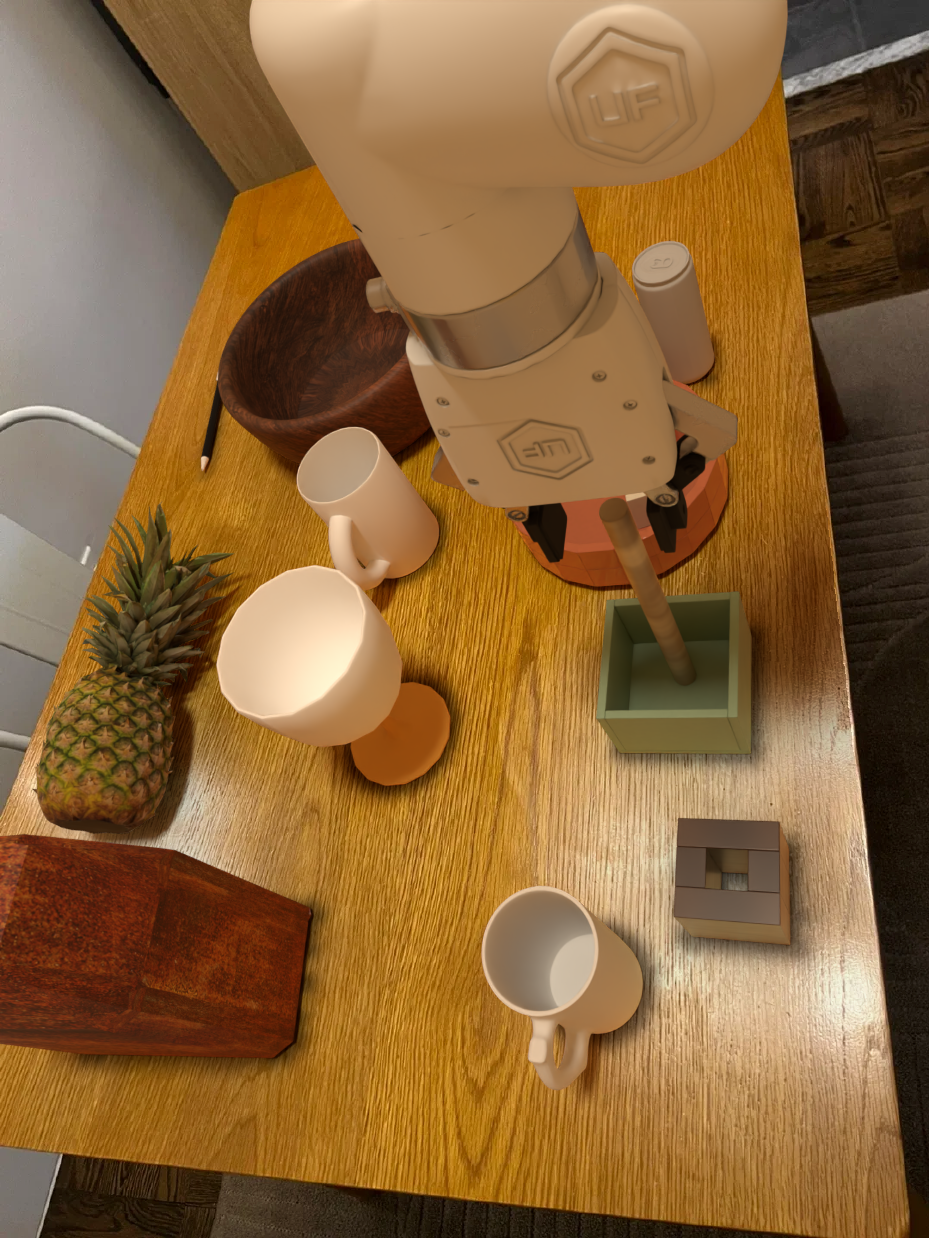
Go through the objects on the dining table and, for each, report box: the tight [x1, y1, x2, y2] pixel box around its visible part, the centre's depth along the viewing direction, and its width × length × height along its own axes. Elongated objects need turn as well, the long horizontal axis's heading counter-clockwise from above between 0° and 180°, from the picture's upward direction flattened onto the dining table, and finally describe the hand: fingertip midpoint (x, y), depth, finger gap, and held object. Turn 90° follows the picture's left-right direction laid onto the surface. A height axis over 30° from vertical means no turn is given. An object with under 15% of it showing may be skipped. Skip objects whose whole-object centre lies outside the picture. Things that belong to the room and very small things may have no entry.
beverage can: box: [631, 240, 715, 385], centre depth 76 cm, size 5×5×12 cm
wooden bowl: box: [217, 237, 432, 465], centre depth 92 cm, size 25×25×10 cm
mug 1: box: [296, 427, 440, 592], centre depth 79 cm, size 8×12×12 cm
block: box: [625, 492, 650, 529], centre depth 73 cm, size 4×4×4 cm
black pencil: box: [200, 354, 222, 472], centre depth 105 cm, size 1×19×1 cm, turn 179°
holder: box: [673, 817, 791, 946], centre depth 56 cm, size 6×6×6 cm
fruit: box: [32, 501, 236, 835], centre depth 82 cm, size 14×12×30 cm
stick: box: [599, 498, 696, 686], centre depth 57 cm, size 2×2×22 cm
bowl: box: [511, 379, 729, 587], centre depth 74 cm, size 18×18×6 cm
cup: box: [216, 564, 451, 787], centre depth 67 cm, size 12×12×17 cm
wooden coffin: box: [0, 833, 312, 1059], centre depth 56 cm, size 10×19×35 cm, turn 87°
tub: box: [595, 590, 752, 755], centre depth 64 cm, size 9×9×7 cm
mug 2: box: [481, 885, 644, 1091], centre depth 54 cm, size 10×7×12 cm, turn 171°
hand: (612, 533), depth 49 cm, fingers open, 5 cm apart
